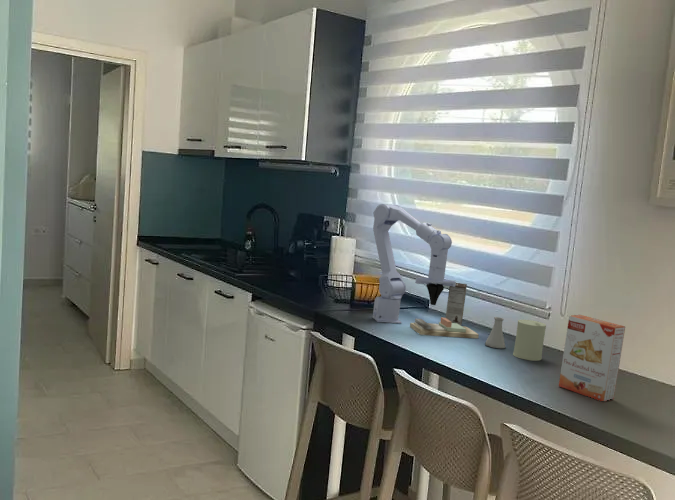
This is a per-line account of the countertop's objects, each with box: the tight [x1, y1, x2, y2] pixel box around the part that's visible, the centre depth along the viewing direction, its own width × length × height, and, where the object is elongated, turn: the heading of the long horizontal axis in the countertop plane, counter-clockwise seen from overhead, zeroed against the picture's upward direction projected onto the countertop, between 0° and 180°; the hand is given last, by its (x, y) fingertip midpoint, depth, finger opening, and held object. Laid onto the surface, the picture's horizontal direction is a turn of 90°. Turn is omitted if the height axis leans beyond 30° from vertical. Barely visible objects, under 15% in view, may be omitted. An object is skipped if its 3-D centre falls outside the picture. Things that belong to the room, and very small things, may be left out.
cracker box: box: [558, 314, 626, 402], centre depth 192 cm, size 14×6×21 cm, turn 40°
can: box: [512, 319, 547, 362], centre depth 228 cm, size 9×9×12 cm
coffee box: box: [445, 282, 467, 326], centre depth 267 cm, size 9×6×16 cm
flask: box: [484, 316, 506, 350], centre depth 239 cm, size 7×7×10 cm
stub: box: [438, 317, 466, 332], centre depth 252 cm, size 7×9×3 cm
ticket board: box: [409, 318, 479, 339], centre depth 252 cm, size 22×12×3 cm, turn 101°
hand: (432, 304), depth 250 cm, fingers closed
